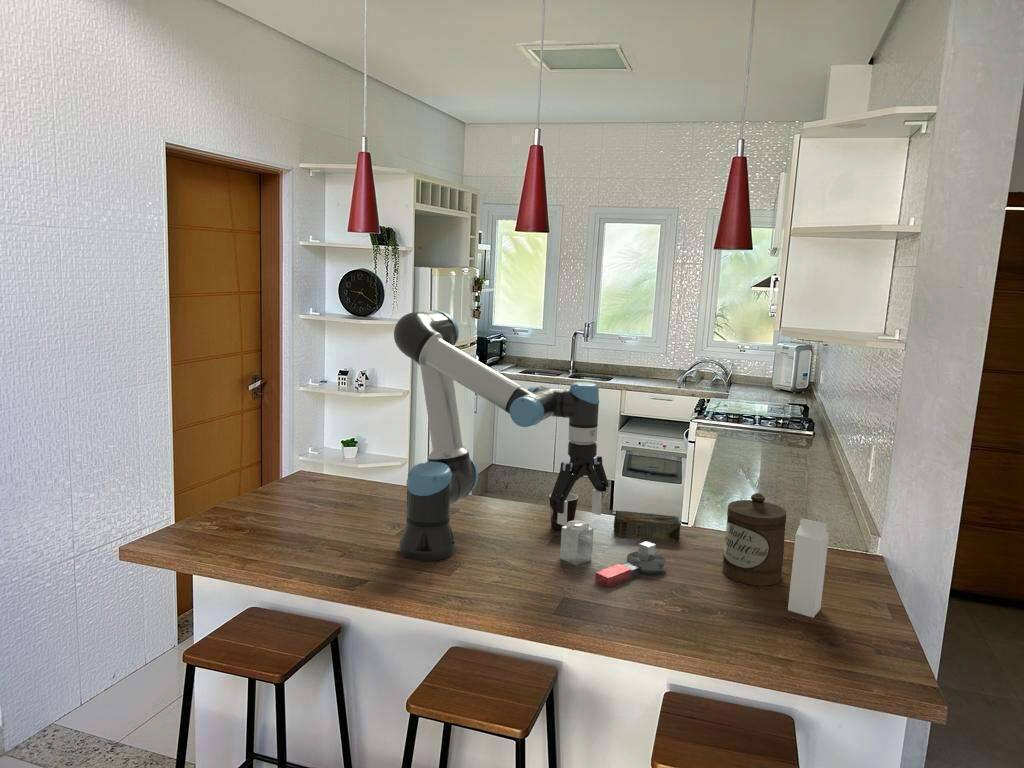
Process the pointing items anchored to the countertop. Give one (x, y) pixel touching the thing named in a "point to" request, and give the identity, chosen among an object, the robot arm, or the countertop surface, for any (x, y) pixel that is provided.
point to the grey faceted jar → (576, 542)
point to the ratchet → (633, 566)
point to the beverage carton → (646, 526)
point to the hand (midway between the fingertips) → (579, 519)
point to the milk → (808, 568)
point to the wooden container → (754, 541)
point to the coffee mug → (571, 510)
